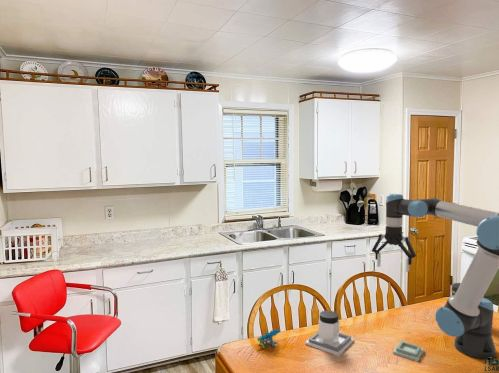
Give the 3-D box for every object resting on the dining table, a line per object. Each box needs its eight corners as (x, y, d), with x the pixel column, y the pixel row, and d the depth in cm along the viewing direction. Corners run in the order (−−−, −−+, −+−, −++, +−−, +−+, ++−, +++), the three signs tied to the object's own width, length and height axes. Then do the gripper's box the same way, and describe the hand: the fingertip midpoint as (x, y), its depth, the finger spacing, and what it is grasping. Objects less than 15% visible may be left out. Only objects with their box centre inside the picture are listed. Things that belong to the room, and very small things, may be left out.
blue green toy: (274, 333, 167) (281, 325, 160) (280, 345, 164) (287, 338, 157) (253, 341, 163) (258, 333, 155) (258, 354, 159) (264, 347, 152)
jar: (330, 347, 156) (331, 320, 155) (315, 340, 162) (315, 314, 161) (341, 340, 162) (342, 314, 161) (326, 333, 168) (327, 308, 167)
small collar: (423, 351, 155) (424, 346, 155) (418, 361, 147) (418, 356, 147) (399, 343, 161) (399, 339, 161) (392, 353, 153) (392, 348, 153)
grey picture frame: (353, 340, 164) (354, 336, 163) (339, 356, 151) (339, 351, 151) (321, 330, 173) (321, 326, 173) (305, 343, 161) (305, 339, 160)
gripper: (423, 227, 171) (422, 271, 173) (370, 222, 186) (369, 262, 188) (419, 229, 165) (418, 275, 167) (365, 224, 180) (365, 266, 182)
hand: (392, 268), depth 177 cm, fingers open, 13 cm apart
